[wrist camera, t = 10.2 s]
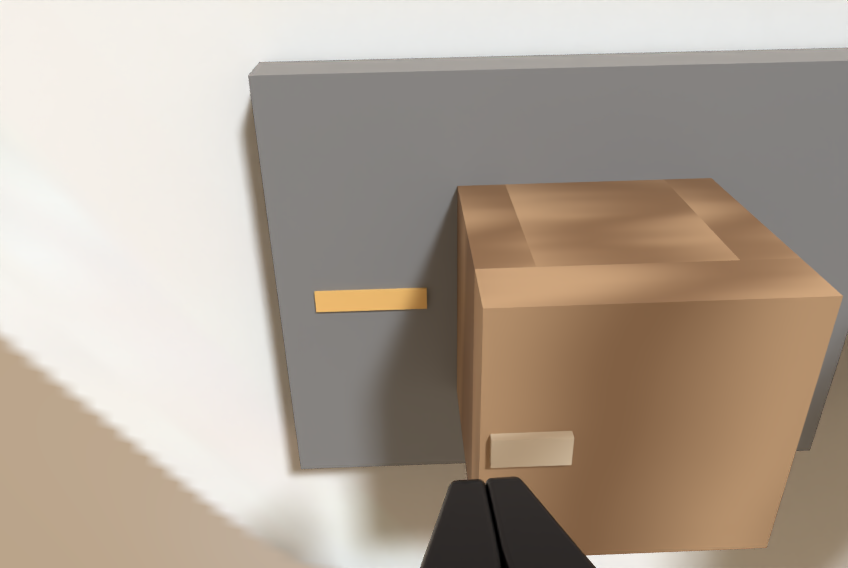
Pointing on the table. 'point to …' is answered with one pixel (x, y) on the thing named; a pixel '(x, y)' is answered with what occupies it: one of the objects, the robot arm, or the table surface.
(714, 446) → the shipping carton
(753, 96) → the gray rectangular slab
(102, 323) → the table surface
